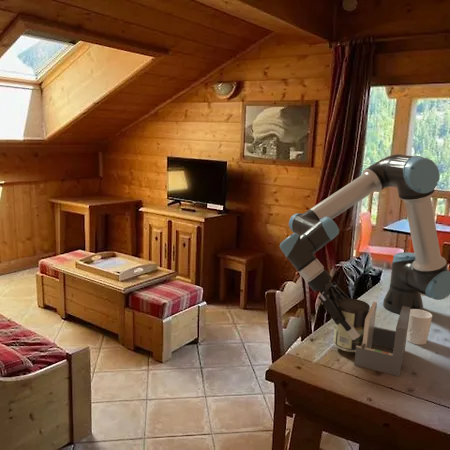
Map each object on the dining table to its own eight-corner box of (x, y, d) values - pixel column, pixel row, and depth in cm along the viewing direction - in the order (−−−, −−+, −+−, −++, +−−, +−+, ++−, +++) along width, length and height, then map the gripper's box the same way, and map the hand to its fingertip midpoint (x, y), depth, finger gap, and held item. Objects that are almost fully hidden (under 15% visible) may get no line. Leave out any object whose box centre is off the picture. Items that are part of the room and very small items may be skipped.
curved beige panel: (372, 341, 153) (377, 302, 150) (363, 366, 137) (368, 322, 134) (368, 340, 154) (373, 301, 151) (359, 365, 137) (363, 321, 134)
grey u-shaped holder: (404, 350, 150) (410, 307, 147) (399, 376, 134) (405, 329, 131) (364, 341, 155) (368, 299, 152) (354, 365, 139) (359, 319, 136)
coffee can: (363, 339, 152) (368, 300, 149) (366, 354, 142) (371, 312, 139) (332, 335, 154) (336, 296, 151) (332, 349, 144) (336, 308, 141)
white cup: (427, 337, 160) (431, 311, 158) (429, 347, 153) (433, 319, 150) (403, 333, 162) (407, 307, 160) (404, 343, 155) (407, 315, 153)
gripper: (316, 272, 161) (357, 324, 158) (296, 292, 141) (343, 351, 138) (332, 260, 157) (374, 312, 154) (315, 279, 138) (363, 339, 134)
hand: (360, 331), depth 146 cm, fingers closed on coffee can, 10 cm apart
